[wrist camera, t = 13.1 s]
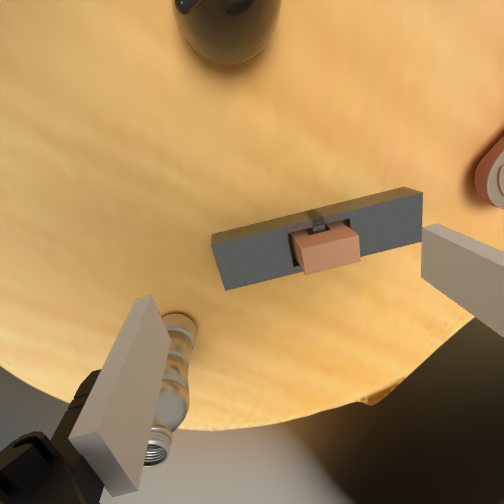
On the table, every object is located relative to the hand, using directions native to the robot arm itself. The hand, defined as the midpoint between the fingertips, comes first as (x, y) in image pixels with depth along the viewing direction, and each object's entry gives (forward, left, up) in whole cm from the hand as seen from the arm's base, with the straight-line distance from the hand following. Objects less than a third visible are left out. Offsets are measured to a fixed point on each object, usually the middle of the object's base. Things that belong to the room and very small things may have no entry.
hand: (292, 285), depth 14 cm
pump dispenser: (+2, +18, -27) cm, 32 cm away
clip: (+8, -9, -27) cm, 29 cm away
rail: (+8, -9, -27) cm, 29 cm away
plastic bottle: (-15, -19, -27) cm, 36 cm away
